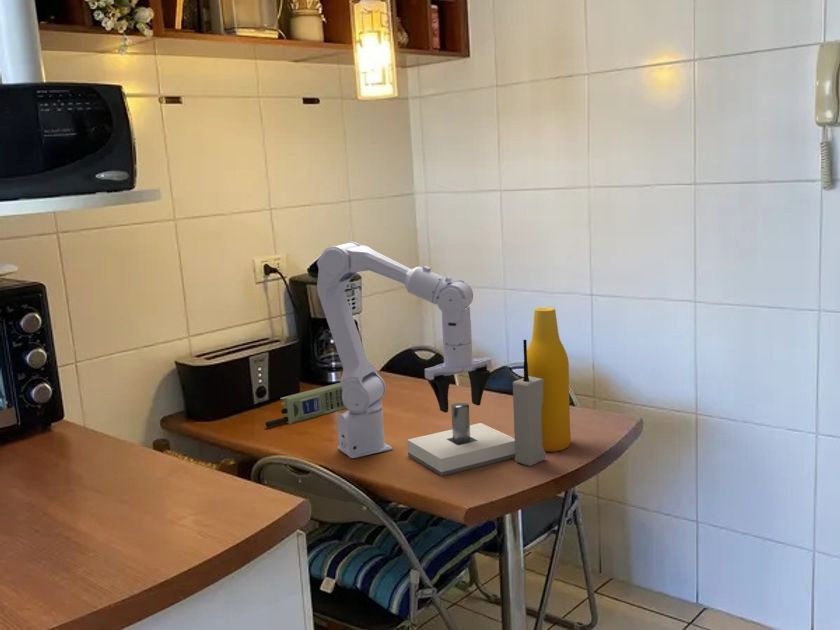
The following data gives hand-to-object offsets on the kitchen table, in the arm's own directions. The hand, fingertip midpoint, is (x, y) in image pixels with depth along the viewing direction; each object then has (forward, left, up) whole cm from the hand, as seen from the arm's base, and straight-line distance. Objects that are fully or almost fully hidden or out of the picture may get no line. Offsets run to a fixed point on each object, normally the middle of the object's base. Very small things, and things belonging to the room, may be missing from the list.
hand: (460, 407), depth 170 cm
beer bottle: (+18, -5, -10) cm, 21 cm away
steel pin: (0, 0, -10) cm, 10 cm away
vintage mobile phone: (+9, -11, -10) cm, 18 cm away
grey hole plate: (0, 0, -10) cm, 10 cm away
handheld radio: (-15, +46, -11) cm, 50 cm away
